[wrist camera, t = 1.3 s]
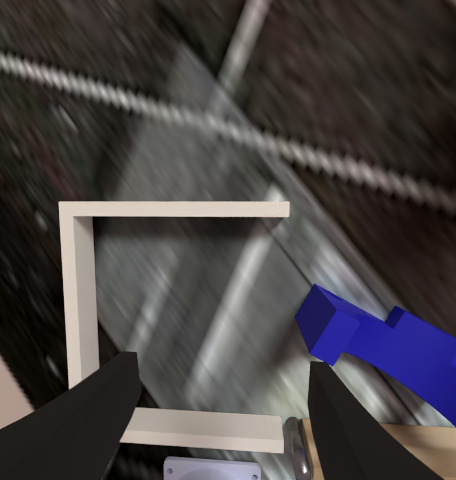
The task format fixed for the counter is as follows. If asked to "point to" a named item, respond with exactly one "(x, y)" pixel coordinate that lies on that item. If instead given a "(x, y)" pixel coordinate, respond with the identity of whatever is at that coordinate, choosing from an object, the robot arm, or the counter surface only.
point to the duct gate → (413, 439)
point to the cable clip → (383, 345)
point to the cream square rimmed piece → (86, 336)
